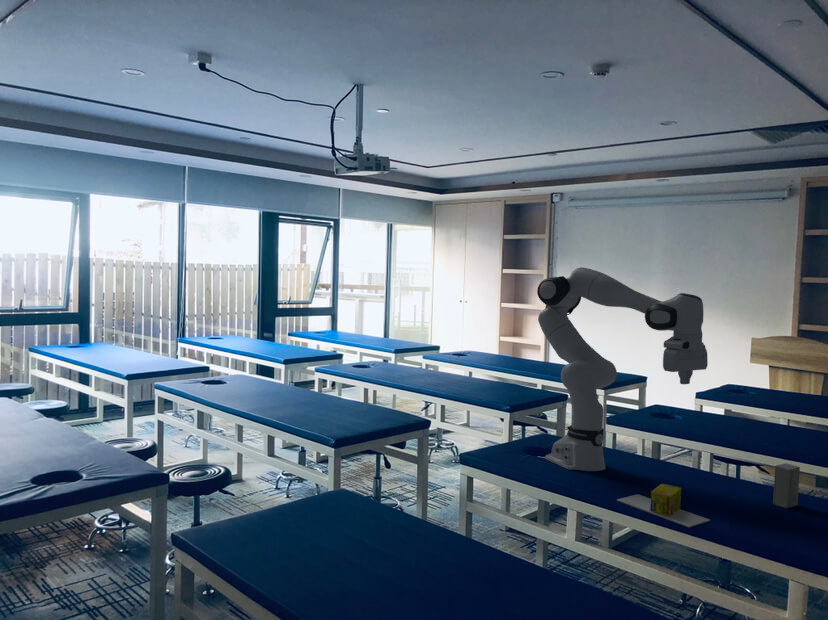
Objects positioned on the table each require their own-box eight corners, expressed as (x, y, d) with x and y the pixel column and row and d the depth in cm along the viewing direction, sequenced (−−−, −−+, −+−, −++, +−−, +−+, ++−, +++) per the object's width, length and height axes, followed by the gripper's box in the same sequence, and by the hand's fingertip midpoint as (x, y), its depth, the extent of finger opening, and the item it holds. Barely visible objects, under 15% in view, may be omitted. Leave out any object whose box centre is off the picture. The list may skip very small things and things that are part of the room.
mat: (616, 500, 190) (616, 499, 190) (637, 495, 195) (637, 494, 195) (689, 527, 170) (689, 526, 170) (710, 520, 175) (710, 519, 175)
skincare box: (783, 501, 194) (786, 462, 194) (798, 505, 191) (800, 466, 190) (772, 504, 191) (774, 465, 191) (786, 508, 187) (789, 469, 187)
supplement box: (681, 506, 185) (671, 516, 177) (661, 501, 189) (649, 511, 180) (682, 487, 185) (671, 496, 176) (661, 482, 189) (650, 491, 180)
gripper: (696, 341, 214) (693, 380, 215) (660, 342, 203) (657, 384, 203) (713, 342, 209) (711, 383, 209) (677, 344, 197) (675, 387, 198)
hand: (684, 384), depth 206 cm, fingers closed
